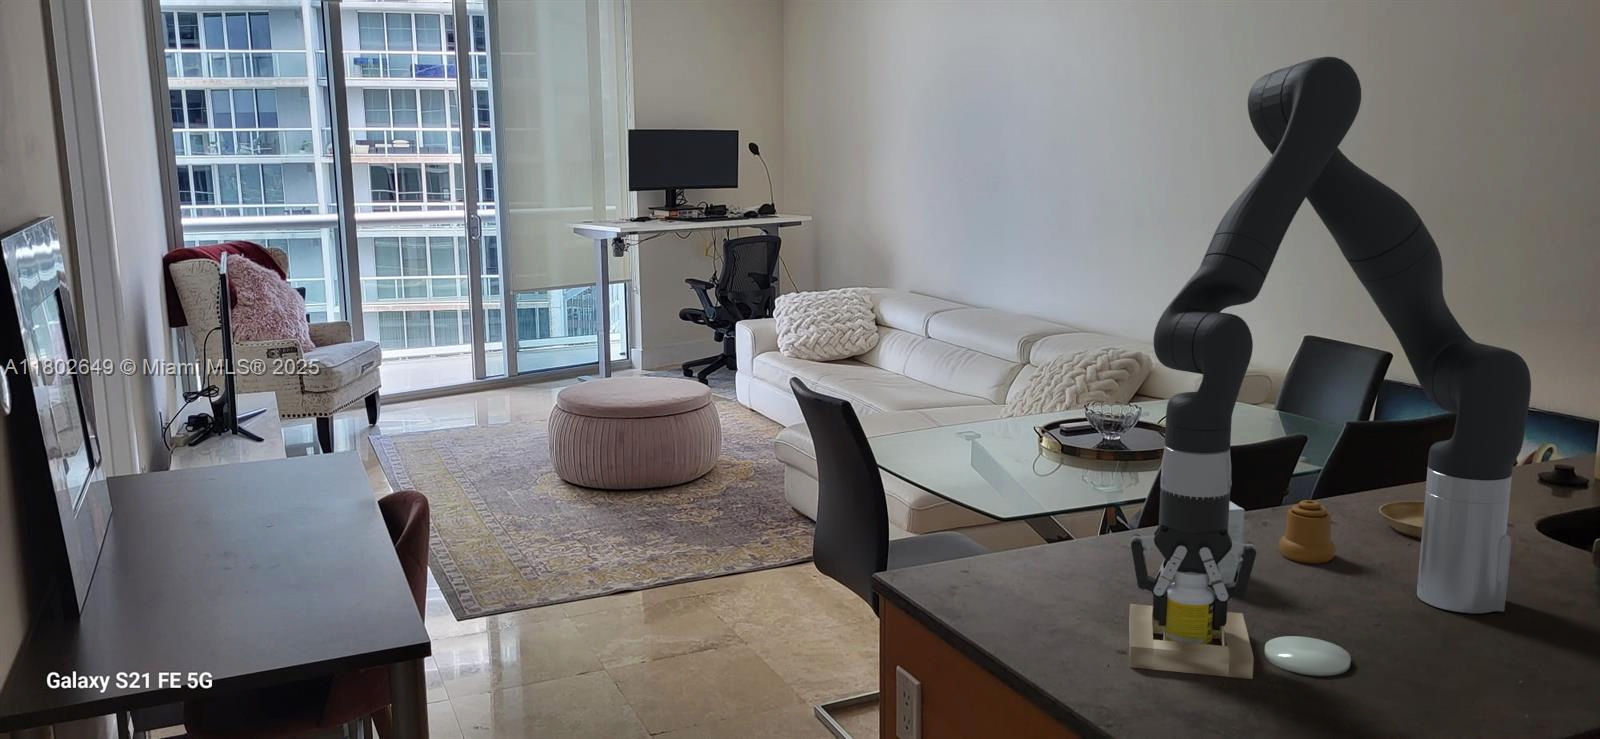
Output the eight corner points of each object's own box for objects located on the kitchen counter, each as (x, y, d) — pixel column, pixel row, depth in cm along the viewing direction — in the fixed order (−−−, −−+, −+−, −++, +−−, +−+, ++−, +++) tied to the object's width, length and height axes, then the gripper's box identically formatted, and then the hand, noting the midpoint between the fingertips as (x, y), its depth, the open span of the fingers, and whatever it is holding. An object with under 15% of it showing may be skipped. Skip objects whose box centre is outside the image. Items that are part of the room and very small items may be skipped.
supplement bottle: (1214, 661, 134) (1219, 579, 132) (1165, 657, 135) (1169, 576, 133) (1208, 641, 139) (1212, 562, 137) (1160, 638, 140) (1164, 560, 139)
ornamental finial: (1329, 568, 163) (1272, 559, 167) (1339, 553, 169) (1284, 544, 173) (1333, 513, 161) (1276, 504, 166) (1343, 499, 168) (1288, 492, 172)
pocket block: (1241, 632, 142) (1242, 613, 141) (1252, 679, 129) (1253, 657, 129) (1129, 623, 145) (1130, 603, 145) (1129, 667, 133) (1130, 646, 132)
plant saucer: (1356, 521, 184) (1357, 505, 183) (1431, 512, 188) (1432, 496, 188) (1431, 551, 170) (1433, 534, 169) (1511, 540, 174) (1513, 523, 174)
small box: (1176, 565, 165) (1180, 493, 163) (1215, 563, 165) (1219, 491, 163) (1200, 586, 157) (1204, 510, 155) (1241, 584, 158) (1245, 508, 156)
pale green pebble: (1342, 646, 137) (1343, 640, 137) (1357, 679, 129) (1357, 672, 129) (1260, 639, 140) (1260, 633, 140) (1269, 671, 131) (1269, 664, 131)
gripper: (1259, 480, 135) (1250, 619, 138) (1129, 472, 139) (1124, 608, 142) (1266, 498, 128) (1257, 644, 131) (1129, 490, 132) (1124, 632, 135)
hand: (1188, 625), depth 137 cm, fingers closed on supplement bottle, 5 cm apart
